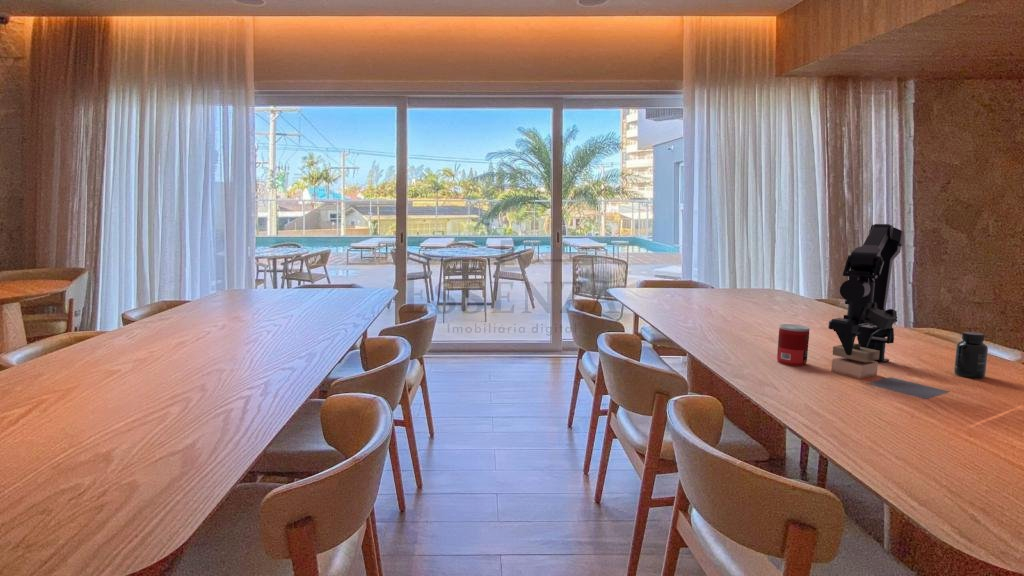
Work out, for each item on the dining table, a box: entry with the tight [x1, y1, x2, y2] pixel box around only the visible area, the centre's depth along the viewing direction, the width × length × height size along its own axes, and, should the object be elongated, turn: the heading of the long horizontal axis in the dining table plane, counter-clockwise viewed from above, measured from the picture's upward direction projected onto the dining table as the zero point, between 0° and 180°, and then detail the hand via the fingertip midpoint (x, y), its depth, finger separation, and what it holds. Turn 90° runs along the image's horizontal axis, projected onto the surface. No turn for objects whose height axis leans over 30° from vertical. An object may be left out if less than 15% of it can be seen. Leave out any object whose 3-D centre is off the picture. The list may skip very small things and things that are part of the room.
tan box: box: [830, 356, 879, 380], centre depth 159 cm, size 8×8×4 cm
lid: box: [832, 343, 880, 362], centre depth 159 cm, size 6×9×4 cm
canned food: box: [776, 323, 810, 367], centre depth 170 cm, size 8×8×11 cm
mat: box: [865, 376, 951, 400], centre depth 147 cm, size 12×14×1 cm
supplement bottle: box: [953, 331, 989, 379], centre depth 159 cm, size 7×7×12 cm
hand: (855, 353), depth 159 cm, fingers closed on lid, 6 cm apart
